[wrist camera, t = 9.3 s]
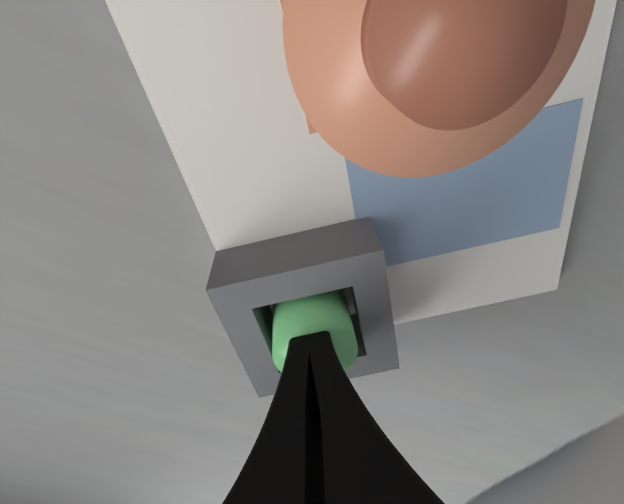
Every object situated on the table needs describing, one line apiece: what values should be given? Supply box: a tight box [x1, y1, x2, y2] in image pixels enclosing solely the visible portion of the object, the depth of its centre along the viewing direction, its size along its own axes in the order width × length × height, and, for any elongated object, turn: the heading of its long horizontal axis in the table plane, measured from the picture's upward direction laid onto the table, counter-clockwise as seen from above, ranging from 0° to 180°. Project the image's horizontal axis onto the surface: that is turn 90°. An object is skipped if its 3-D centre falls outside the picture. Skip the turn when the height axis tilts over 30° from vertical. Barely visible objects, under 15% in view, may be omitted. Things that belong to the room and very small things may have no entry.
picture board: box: [105, 0, 617, 397], centre depth 12 cm, size 14×16×3 cm
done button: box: [272, 288, 358, 373], centre depth 14 cm, size 3×3×3 cm
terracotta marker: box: [282, 0, 595, 178], centre depth 7 cm, size 4×4×8 cm
